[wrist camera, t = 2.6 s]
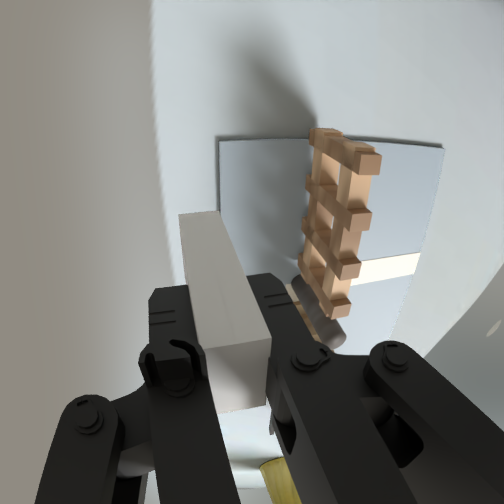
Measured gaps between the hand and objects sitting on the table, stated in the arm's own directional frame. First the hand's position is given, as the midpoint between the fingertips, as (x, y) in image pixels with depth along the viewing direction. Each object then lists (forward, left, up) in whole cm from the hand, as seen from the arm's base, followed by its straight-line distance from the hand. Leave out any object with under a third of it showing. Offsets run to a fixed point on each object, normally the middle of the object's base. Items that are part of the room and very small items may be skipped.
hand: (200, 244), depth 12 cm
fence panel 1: (-4, +7, -7) cm, 11 cm away
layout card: (-1, +15, -8) cm, 17 cm away
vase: (+28, +41, -8) cm, 51 cm away
